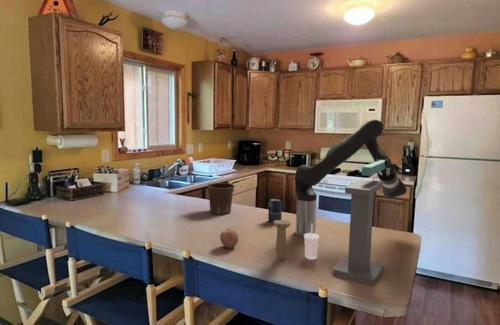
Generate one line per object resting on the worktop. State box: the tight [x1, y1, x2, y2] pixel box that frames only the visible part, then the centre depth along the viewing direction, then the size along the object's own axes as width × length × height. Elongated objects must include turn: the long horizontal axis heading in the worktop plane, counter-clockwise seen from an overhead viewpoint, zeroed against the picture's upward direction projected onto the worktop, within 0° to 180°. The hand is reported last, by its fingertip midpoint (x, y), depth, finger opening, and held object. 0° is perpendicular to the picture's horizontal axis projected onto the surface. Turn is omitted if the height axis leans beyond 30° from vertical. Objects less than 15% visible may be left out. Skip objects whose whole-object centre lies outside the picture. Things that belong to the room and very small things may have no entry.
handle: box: [272, 219, 291, 261], centre depth 130 cm, size 5×6×15 cm
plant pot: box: [206, 182, 235, 216], centre depth 195 cm, size 16×16×16 cm
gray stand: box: [332, 179, 385, 286], centre depth 119 cm, size 18×14×32 cm
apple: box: [219, 227, 239, 249], centre depth 142 cm, size 8×8×8 cm
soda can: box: [267, 198, 283, 224], centre depth 178 cm, size 7×7×12 cm
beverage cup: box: [303, 223, 320, 260], centre depth 132 cm, size 6×6×14 cm
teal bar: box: [361, 160, 388, 177], centre depth 128 cm, size 26×3×3 cm, turn 145°
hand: (381, 161), depth 134 cm, fingers closed on teal bar, 3 cm apart
